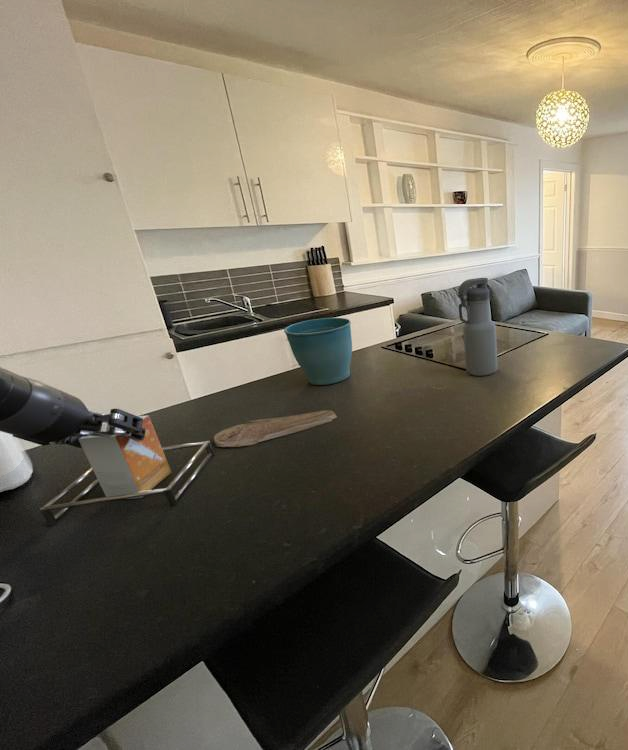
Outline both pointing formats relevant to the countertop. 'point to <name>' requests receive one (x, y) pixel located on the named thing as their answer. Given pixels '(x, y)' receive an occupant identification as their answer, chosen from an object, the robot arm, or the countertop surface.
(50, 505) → the metal rack
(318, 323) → the flower pot
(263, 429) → the fish fossil
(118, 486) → the small box
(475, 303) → the water bottle
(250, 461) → the countertop surface
